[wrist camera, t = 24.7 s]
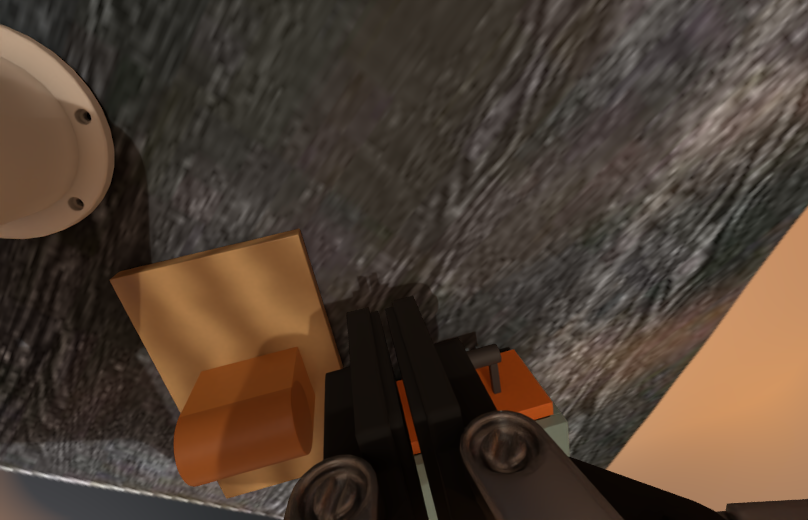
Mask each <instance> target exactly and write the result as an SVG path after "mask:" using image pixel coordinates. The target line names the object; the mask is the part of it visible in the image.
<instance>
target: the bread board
mask: <svg viewBox="0 0 808 520" xmlns="http://www.w3.org/2000/svg"><path fill="white" fill-rule="evenodd" d="M110 282H111V284H112V286H113V288H114V290H115V292H116V293H117V295H118V297H119V299H120V301H121V303H122V305H123V307H124V308H125V310H126V312H127V314H128V316H129V318H130V320H131V321H132V323H133V325H134V327H135V329H136V331H137V333H138V334H139V336H140V338H141V340H142V342H143V344H144V346H145V347H146V349H147V351H148V353H149V355H150V357H151V359H152V360H153V362H154V364H155V366H156V368H157V370H158V372H159V374H160V375H161V377H162V379H163V381H164V383H165V385H166V387H167V388H168V390H169V392H170V394H171V396H172V398H173V400H174V401H175V403H176V405H177V407H178V409H179V411H180V413H181V412H182V410H183V408H184V406H185V404H186V402H187V400H188V398H189V395H190V393H191V391H192V389H193V387H194V385H195V383H196V381H197V379H198V377H199V375H200V373H201V371H205V370H209V369H213V368H216V367H220V366H224V365H228V364H232V363H236V362H239V361H243V360H247V359H251V358H255V357H259V356H262V355H266V354H270V353H274V352H278V351H282V350H285V349H289V348H293V347H298V349H299V352H300V354H301V357H302V360H303V363H304V366H305V368H306V371H307V374H308V377H309V379H310V382H311V385H312V388H313V390H314V393H315V410H314V427H313V443H312V449H311V452H310V454H308V455H306V456H302V457H298V458H295V459H291V460H288V461H284V462H281V463H277V464H274V465H270V466H267V467H263V468H260V469H256V470H252V471H249V472H245V473H242V474H238V475H235V476H231V477H228V478H224V479H221V480H217V481H218V483H219V485H220V487H221V489H222V491H223V493H224V494H225V496H226V498H231V497H234V496H238V495H241V494H244V493H248V492H251V491H255V490H258V489H262V488H265V487H269V486H272V485H276V484H279V483H283V482H286V481H290V480H293V479H297V478H300V477H302V475H303V474H304V473H306V472H307V471H308V470H309V469H310V468H311V467H312V466H314V465H315V464H317V463H319V462H321V461H322V460H323V446H324V400H325V375H326V373H328V372H332V371H336V370H339V369H343V365H342V361H341V358H340V355H339V352H338V349H337V345H336V342H335V339H334V336H333V333H332V330H331V326H330V323H329V320H328V317H327V314H326V311H325V307H324V304H323V301H322V298H321V295H320V291H319V288H318V285H317V282H316V279H315V276H314V272H313V269H312V266H311V263H310V260H309V257H308V253H307V250H306V247H305V244H304V241H303V237H302V234H301V231H300V229H296V230H291V231H287V232H283V233H279V234H275V235H271V236H266V237H262V238H258V239H254V240H250V241H245V242H241V243H237V244H233V245H229V246H224V247H220V248H216V249H212V250H208V251H203V252H199V253H195V254H191V255H187V256H182V257H178V258H174V259H170V260H166V261H161V262H157V263H153V264H149V265H145V266H141V267H136V268H132V269H128V270H124V271H120V272H118V273H117V274H116V275H115V276H113V277H112V278H111V279H110Z"/></svg>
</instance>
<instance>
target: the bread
mask: <svg viewBox="0 0 808 520" xmlns="http://www.w3.org/2000/svg"><path fill="white" fill-rule="evenodd" d="M314 410H315V393H314V390H313V388H312V385H311V382H310V379H309V377H308V374H307V371H306V368H305V366H304V363H303V360H302V357H301V354H300V352H299V349H298V347H293V348H289V349H285V350H282V351H278V352H274V353H270V354H266V355H262V356H259V357H255V358H251V359H247V360H243V361H239V362H236V363H232V364H228V365H224V366H220V367H216V368H213V369H209V370H205V371H201V373H200V375H199V377H198V379H197V381H196V383H195V385H194V387H193V389H192V391H191V393H190V395H189V398H188V400H187V402H186V404H185V406H184V408H183V410H182V412H181V414H180V416H179V419H178V421H177V424H176V428H175V433H174V456H175V461H176V465H177V469H178V471H179V474H180V476H181V477H182V479H183V480H184V481H185V482H186V483H187V484H188V485H190V486H199V485H203V484H206V483H210V482H213V481H217V480H221V479H224V478H228V477H231V476H235V475H238V474H242V473H245V472H249V471H252V470H256V469H260V468H263V467H267V466H270V465H274V464H277V463H281V462H284V461H288V460H291V459H295V458H298V457H302V456H306V455H308V454H310V452H311V449H312V443H313V427H314Z"/></svg>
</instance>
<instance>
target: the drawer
mask: <svg viewBox="0 0 808 520" xmlns="http://www.w3.org/2000/svg"><path fill="white" fill-rule="evenodd" d="M466 353H467V354H468V356H469V358H470V360H471V362H472V364H473V366H474V367H475V369H476V371H477V373H478V375H479V377H480V379H481V380H482V382H483V384H484V386H485V388H486V390H487V392H488V393H489V395H490V397H491V399H492V401H493V403H494V405H495V406H496V408H497V410H498V411H500V410H508V411H513V412H518V413H521V414H524V415H526V416H528V417H530V418H532V419H533V420H534V421H537V419H539V418H543V417H546V416H550V415H553V402H552V401H551V399H550V398H549V397H548V395H547V394H546V393H545V391H544V390H543V389H542V387H541V386H540V384H539V383H538V382H537V380H536V379H535V378H534V376H533V375H532V374H531V372H530V371H529V369H528V368H527V367H526V365H525V364H524V363H523V361H522V360H521V358H520V357H519V356H518V354H517V353H516V352H515V350H514V349H513V350H510V351H506V352H502V353H500V351H499V349H498V347H497V345H496V344H492V345H488V346H485V347H481V348H477V349H474V350H470V351H466ZM396 383H397V387H398V391H399V394H400V398H401V402H402V407H403V411H404V415H405V419H406V424H407V428H408V432H409V436H410V441H411V445H412V449H413V454H414V456H416V455H419V454H421V451H420V447H419V443H418V440H417V436H416V432H415V428H414V424H413V420H412V416H411V412H410V408H409V404H408V400H407V396H406V392H405V388H404V384H403V380H400V381H396Z"/></svg>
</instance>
